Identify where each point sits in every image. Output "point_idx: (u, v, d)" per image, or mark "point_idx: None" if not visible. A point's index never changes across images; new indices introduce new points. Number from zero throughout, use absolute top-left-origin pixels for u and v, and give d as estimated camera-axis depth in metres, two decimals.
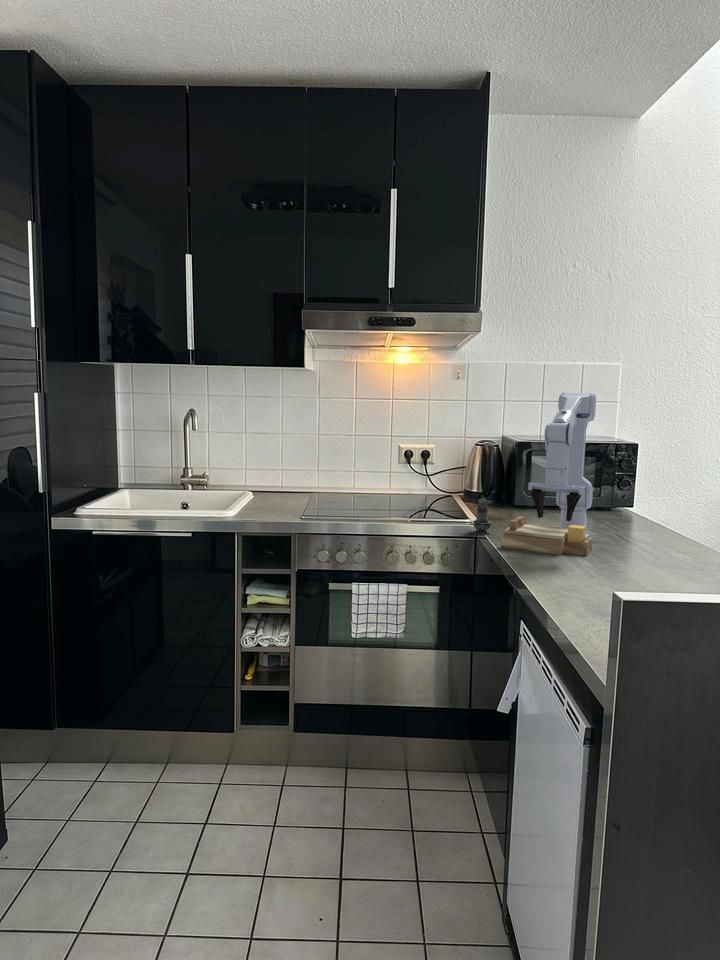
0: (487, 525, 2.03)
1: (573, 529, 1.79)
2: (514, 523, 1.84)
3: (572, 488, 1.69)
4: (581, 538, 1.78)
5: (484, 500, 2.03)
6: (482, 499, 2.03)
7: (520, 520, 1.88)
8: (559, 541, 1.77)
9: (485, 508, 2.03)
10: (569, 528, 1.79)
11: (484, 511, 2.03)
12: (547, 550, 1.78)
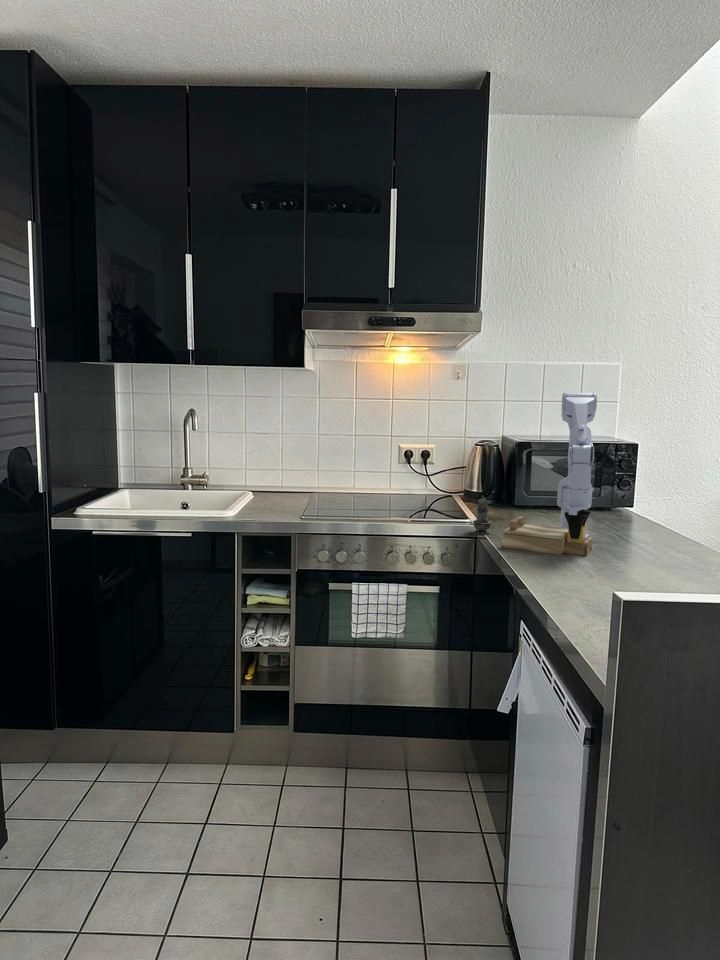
0: (487, 525, 2.03)
1: None
2: (514, 523, 1.84)
3: (568, 507, 1.76)
4: (581, 538, 1.78)
5: (484, 500, 2.03)
6: (482, 499, 2.03)
7: (520, 520, 1.88)
8: (559, 541, 1.77)
9: (485, 508, 2.03)
10: None
11: (484, 511, 2.03)
12: (547, 550, 1.78)
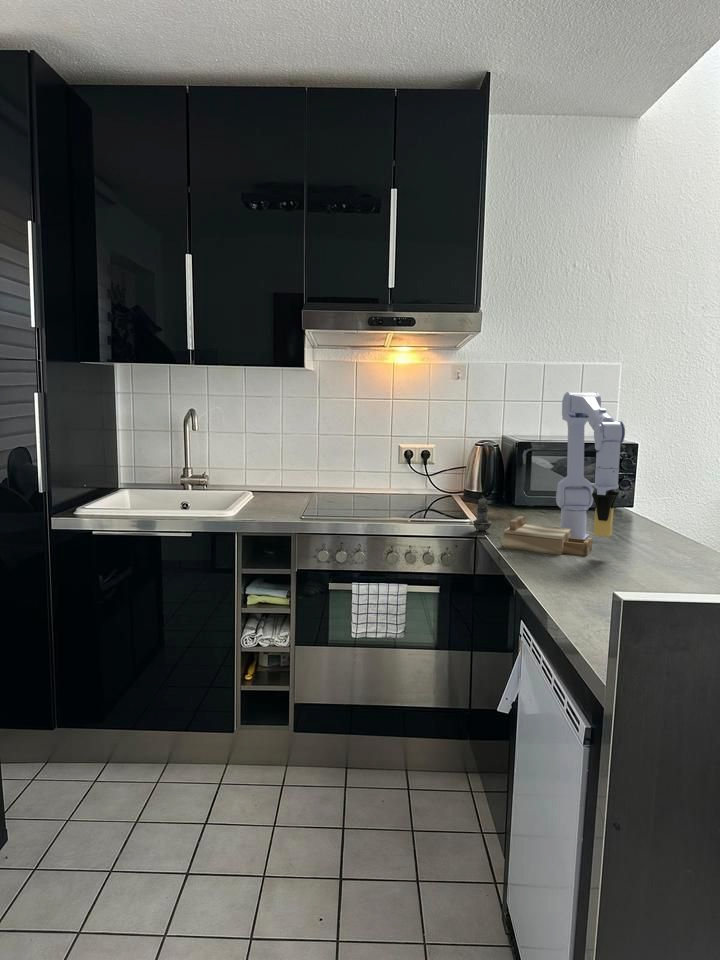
0: (487, 525, 2.03)
1: None
2: (514, 523, 1.84)
3: (596, 487, 1.68)
4: (609, 520, 1.70)
5: (484, 500, 2.03)
6: (482, 499, 2.03)
7: (520, 520, 1.88)
8: (559, 541, 1.77)
9: (485, 508, 2.03)
10: (596, 509, 1.71)
11: (484, 511, 2.03)
12: (547, 550, 1.78)
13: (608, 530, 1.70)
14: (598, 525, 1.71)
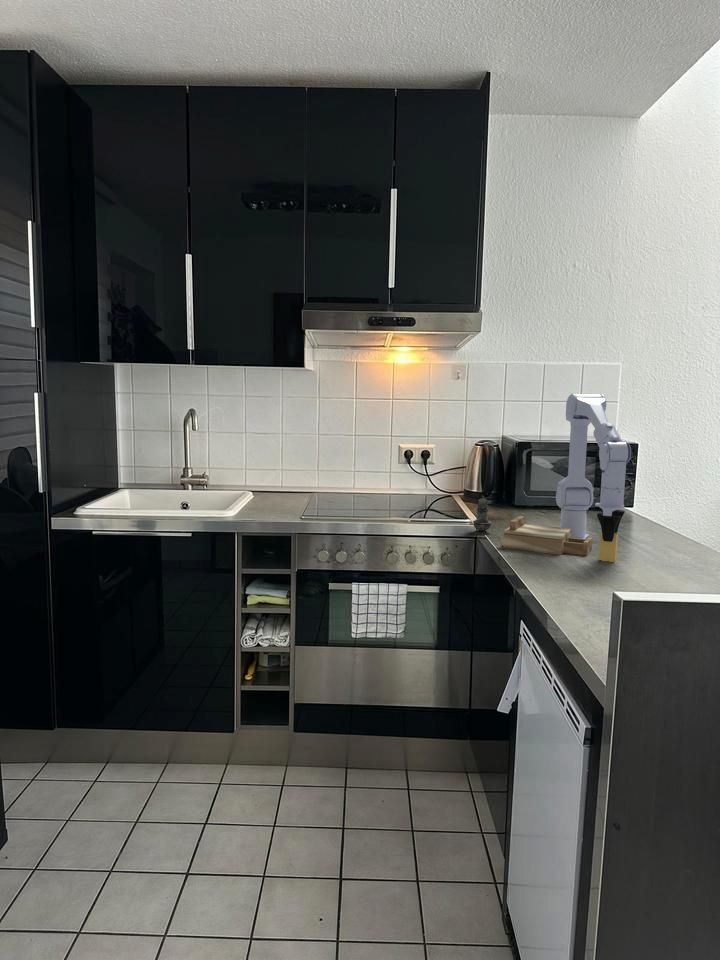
0: (487, 525, 2.03)
1: None
2: (514, 523, 1.84)
3: (602, 508, 1.67)
4: (614, 546, 1.69)
5: (484, 500, 2.03)
6: (482, 499, 2.03)
7: (520, 520, 1.88)
8: (559, 541, 1.77)
9: (485, 508, 2.03)
10: (601, 535, 1.70)
11: (484, 511, 2.03)
12: (547, 550, 1.78)
13: (613, 556, 1.69)
14: (603, 551, 1.70)
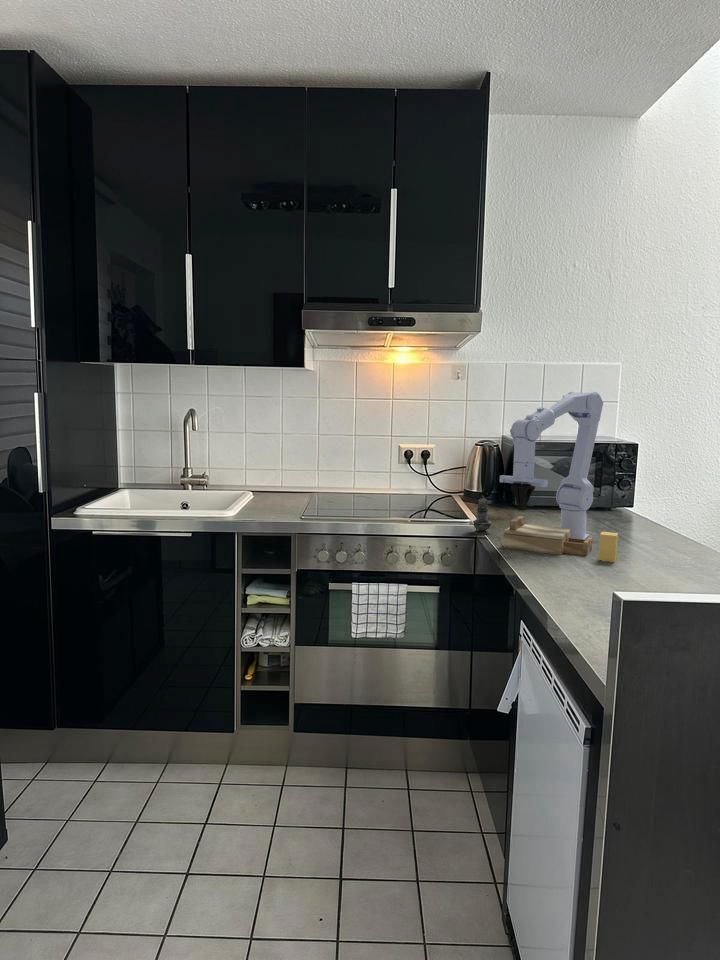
0: (487, 525, 2.03)
1: (605, 536, 1.70)
2: (514, 523, 1.84)
3: (535, 481, 1.80)
4: (614, 546, 1.69)
5: (484, 500, 2.03)
6: (482, 499, 2.03)
7: (520, 520, 1.88)
8: (559, 541, 1.77)
9: (485, 508, 2.03)
10: (601, 535, 1.70)
11: (484, 511, 2.03)
12: (547, 550, 1.78)
13: (613, 556, 1.69)
14: (603, 551, 1.70)
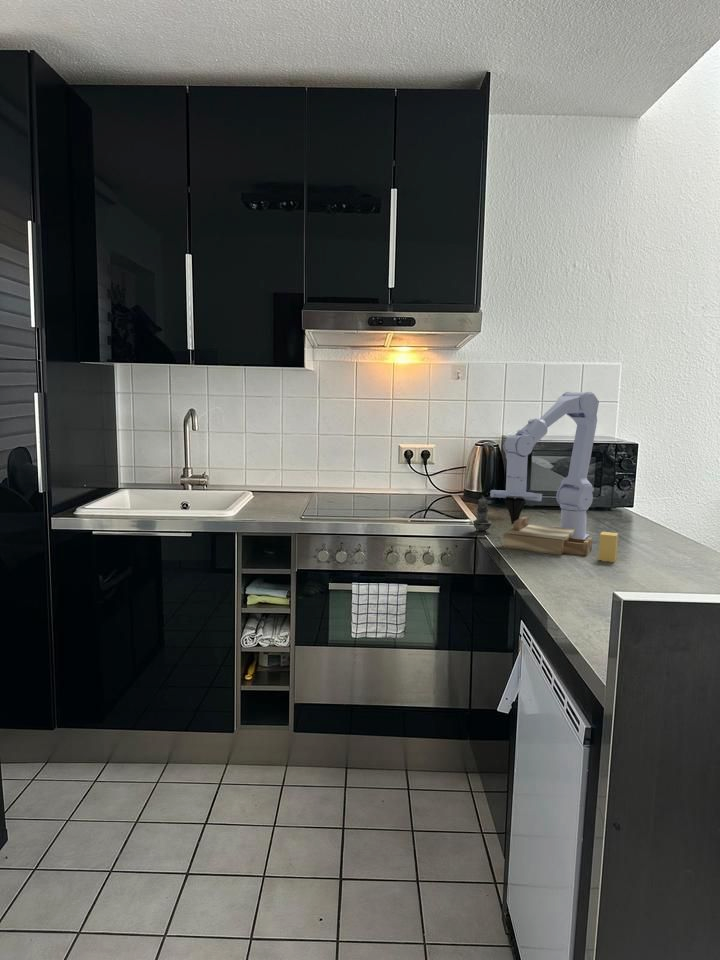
0: (487, 525, 2.02)
1: (605, 536, 1.70)
2: (518, 523, 1.83)
3: (531, 495, 1.84)
4: (614, 546, 1.69)
5: (484, 500, 2.03)
6: (482, 499, 2.03)
7: (524, 520, 1.88)
8: (559, 541, 1.77)
9: (485, 508, 2.03)
10: (601, 535, 1.70)
11: (484, 511, 2.03)
12: (547, 550, 1.78)
13: (613, 556, 1.69)
14: (603, 551, 1.70)
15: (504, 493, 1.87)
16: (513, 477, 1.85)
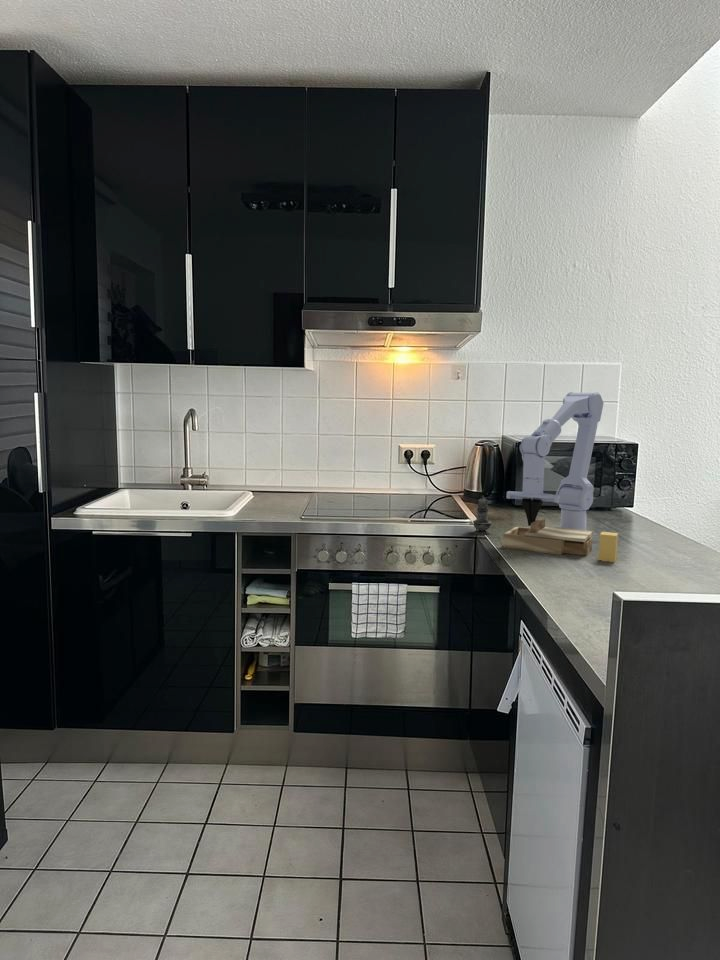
0: (487, 525, 2.03)
1: (605, 536, 1.70)
2: (535, 525, 1.81)
3: (548, 496, 1.82)
4: (614, 546, 1.69)
5: (484, 500, 2.03)
6: (482, 499, 2.03)
7: (541, 522, 1.85)
8: (559, 541, 1.77)
9: (485, 508, 2.03)
10: (601, 535, 1.70)
11: (484, 511, 2.03)
12: (547, 550, 1.78)
13: (613, 556, 1.69)
14: (603, 551, 1.70)
15: (521, 494, 1.85)
16: (530, 478, 1.82)
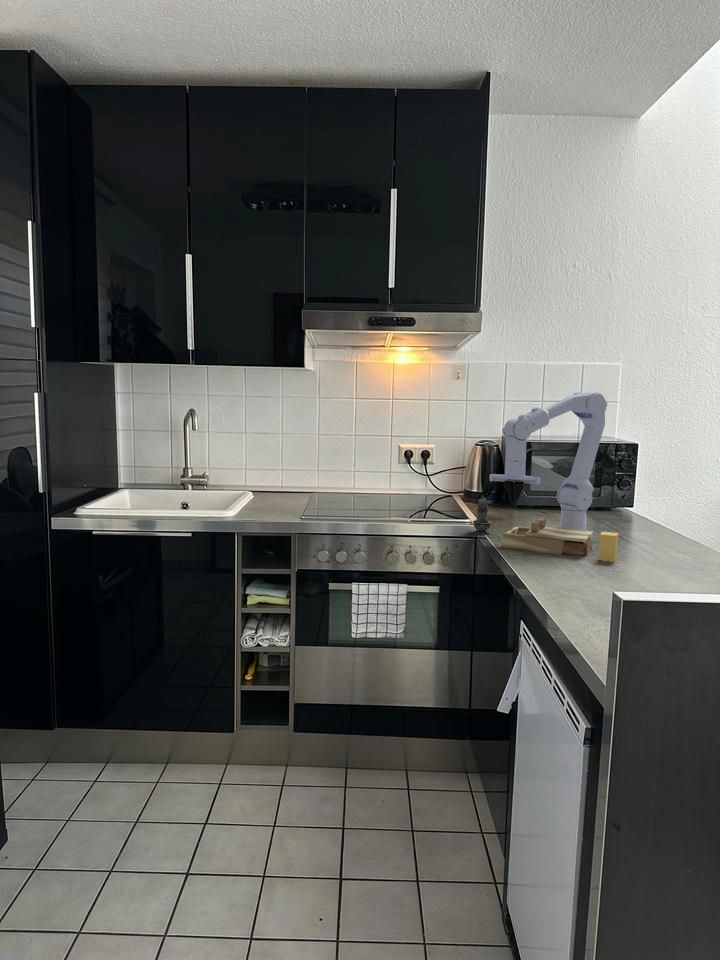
0: (487, 525, 2.03)
1: (605, 536, 1.70)
2: (536, 525, 1.81)
3: (529, 478, 1.86)
4: (614, 546, 1.69)
5: (484, 500, 2.03)
6: (482, 499, 2.03)
7: (541, 522, 1.85)
8: (559, 541, 1.77)
9: (485, 508, 2.03)
10: (601, 535, 1.70)
11: (484, 511, 2.03)
12: (547, 550, 1.78)
13: (613, 556, 1.69)
14: (603, 551, 1.70)
15: (503, 477, 1.89)
16: (512, 461, 1.87)
